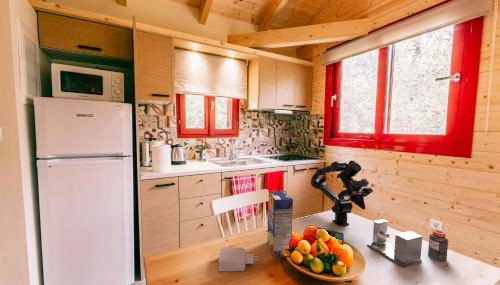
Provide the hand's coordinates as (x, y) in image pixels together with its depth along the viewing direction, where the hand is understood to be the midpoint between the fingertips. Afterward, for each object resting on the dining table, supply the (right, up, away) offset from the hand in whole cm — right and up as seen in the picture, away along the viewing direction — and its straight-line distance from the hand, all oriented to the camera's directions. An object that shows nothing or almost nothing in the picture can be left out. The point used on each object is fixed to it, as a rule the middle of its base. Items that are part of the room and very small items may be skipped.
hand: (364, 209), depth 106 cm
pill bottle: (+22, -16, -15) cm, 31 cm away
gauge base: (+5, -15, -13) cm, 21 cm away
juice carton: (-43, -14, -11) cm, 47 cm away
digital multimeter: (-18, -14, 0) cm, 23 cm away
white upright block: (+2, -13, -9) cm, 16 cm away
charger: (-60, -15, -22) cm, 66 cm away
